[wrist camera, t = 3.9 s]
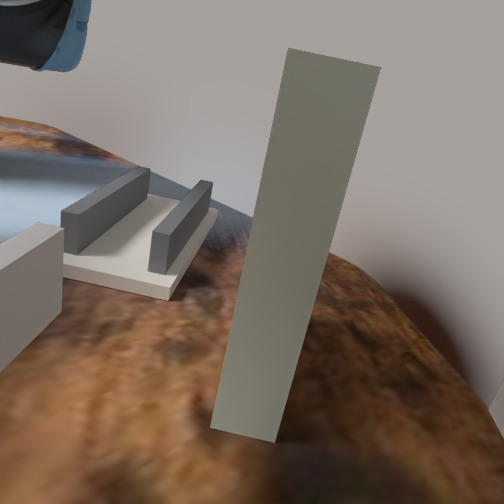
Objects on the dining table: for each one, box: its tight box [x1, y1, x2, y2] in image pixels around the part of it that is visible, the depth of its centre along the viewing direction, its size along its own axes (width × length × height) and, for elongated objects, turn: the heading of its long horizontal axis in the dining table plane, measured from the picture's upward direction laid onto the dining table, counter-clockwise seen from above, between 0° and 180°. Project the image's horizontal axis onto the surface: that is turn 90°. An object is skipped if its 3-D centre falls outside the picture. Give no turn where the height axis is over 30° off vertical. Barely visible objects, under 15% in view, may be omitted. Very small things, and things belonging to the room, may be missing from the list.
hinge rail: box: [61, 166, 219, 301], centre depth 37 cm, size 18×9×4 cm, turn 174°
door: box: [210, 48, 381, 443], centre depth 22 cm, size 10×3×16 cm, turn 174°
